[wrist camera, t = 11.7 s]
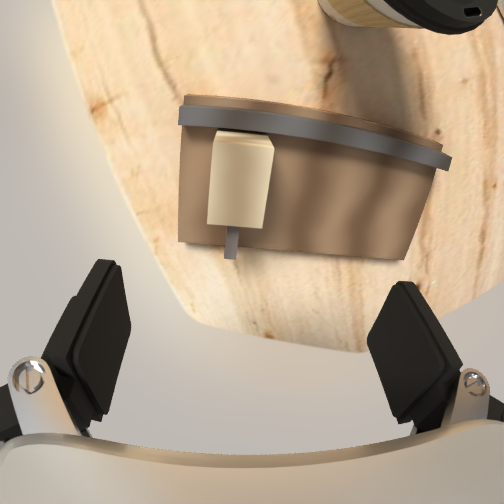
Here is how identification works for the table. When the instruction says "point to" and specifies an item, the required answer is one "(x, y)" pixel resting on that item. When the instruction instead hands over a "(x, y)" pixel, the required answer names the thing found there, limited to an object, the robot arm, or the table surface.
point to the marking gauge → (239, 182)
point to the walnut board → (312, 178)
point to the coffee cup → (411, 13)
